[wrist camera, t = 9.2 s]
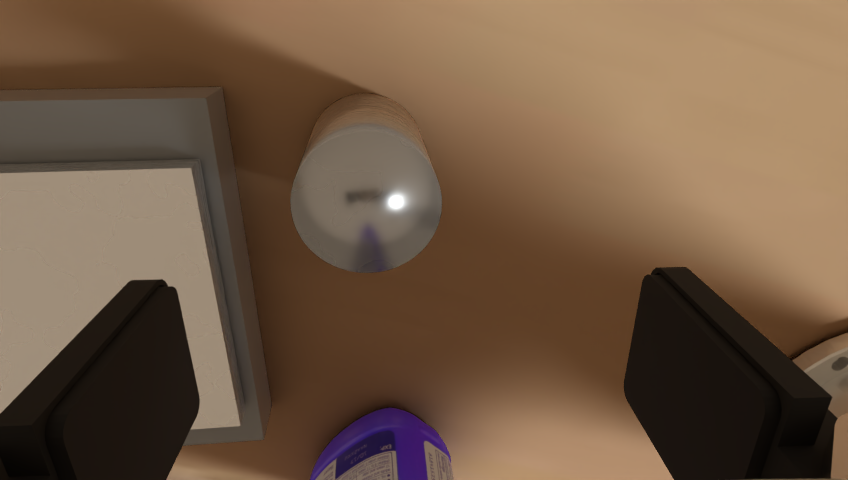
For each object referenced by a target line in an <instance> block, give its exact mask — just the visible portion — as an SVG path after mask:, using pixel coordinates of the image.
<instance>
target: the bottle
mask: <svg viewBox="0 0 848 480" xmlns="http://www.w3.org/2000/svg"><path fill="white" fill-rule="evenodd" d="M310 480H454V479H453V474H452V467H451V459H450V455H449V452H448V450H447V447H446V445H445V443H444V442H443V440H442V439H441V437H440V436H439V434H438V433H437V432H436V431H435V430H434V429H433V428H432V427H430V426H429V425H427V424H426V423H424V422H423V421H421V420H420V419H419V418H417V417H416V416H414V415H413V414H411V413H409V412H406V411H404V410H400V409H396V408H384V409H380V410H377V411H374V412H372V413H369V414H367V415H365V416H363V417H361V418H360V419H358V420H356V421H355V422H353V423H352V424H351V425H349V426H348V427H346V428H345V429H344V430H343V431H341V432H340V433H339V434H338V435H337V436H336V437H335V438H334V439H333V440H332V441H331V442H330V443H329V444H328V445H327V447H326V448H325V449H324V451H323V452H322V453H321V455H320V456H319V458H318V460H317V462H316V464H315V466H314V469H313V471H312V474H311V478H310Z"/></svg>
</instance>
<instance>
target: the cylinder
mask: <svg viewBox="0 0 848 480" xmlns="http://www.w3.org/2000/svg"><path fill="white" fill-rule="evenodd" d="M290 202H291V213H292V219H293V222H294V225H295V227H296V229H297V232H298V234H299V236H300V237H301V239H302V240H303V242H304V243H305V244H306V245H307V246H308V248H309V249H310V250H311V251H312V252H313V253H315V254H316V255H317V256H318V257H319V258H321V259H322V260H324V261H325V262H327V263H329V264H331V265H333V266H335V267H338V268H341V269H344V270H348V271H352V272H360V273H373V272H381V271H386V270H390V269H393V268H395V267H398V266H400V265H402V264H404V263H406V262H408V261H409V260H411V259H412V258H414V257H415V256H416V255H417V254H419V253H420V252H421V251H422V250H423V249H424V248H425V247H426V246H427V244H428V243H429V241H430V240H431V239H432V237H433V235H434V233H435V231H436V229H437V227H438V224H439V221H440V217H441V211H442V195H441V189H440V185H439V182H438V179H437V176H436V174H435V171H434V168H433V166H432V163H431V161H430V158H429V155H428V153H427V150H426V147H425V145H424V142H423V140H422V137H421V134H420V132H419V129H418V127H417V125H416V123H415V121H414V120H413V118H412V117H411V115H410V114H409V113H408V112H407V111H406V110H405V109H404V108H403V107H402V106H401V105H399V104H398V103H396V102H395V101H393V100H391V99H389V98H387V97H384V96H381V95H376V94H368V93H362V94H354V95H349V96H346V97H344V98H341V99H339V100H337V101H336V102H334V103H333V104H331V105H330V106H329V107H328V108H327V109H326V110H324V111H323V113H322V114H321V115H320V117H319V118H318V120H317V121H316V123H315V125H314V128H313V130H312V133H311V136H310V138H309V141H308V144H307V147H306V149H305V152H304V155H303V158H302V160H301V163H300V166H299V168H298V171H297V174H296V177H295V179H294V182H293V186H292V190H291V199H290Z"/></svg>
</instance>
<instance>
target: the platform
mask: <svg viewBox="0 0 848 480" xmlns="http://www.w3.org/2000/svg"><path fill="white" fill-rule="evenodd" d="M157 279H163V280H164V281H166V283H167V285H168V286H173V287H175V288H176V290H177V293H178V297H179V302H180V306H181V311H182V316H183V321H184V325H185V330H186V335H187V340H188V344H189V349H190V354H191V359H192V363H193V368H194V373H195V378H196V382H197V387H198V392H199V398H200V405H199V411H198V414H197V417H196V419H195V421H194V423H193V425H192V427H191V429H205V428H220V427H234V426H241V423H242V419H243V416H244V412H245V404H244V398H243V393H242V387H241V382H240V376H239V371H238V365H237V360H236V354H235V349H234V344H233V338H232V333H231V327H230V322H229V316H228V311H227V305H226V300H225V294H224V289H223V283H222V278H221V273H220V267H219V262H218V256H217V251H216V245H215V240H214V234H213V229H212V223H211V218H210V213H209V207H208V202H207V196H206V191H205V185H204V180H203V174H202V169H201V163H200V159H185V160H147V161H109V162H71V163H32V164H0V413H1V412H2V411H3V410H4V409H5V408H6V407H7V406H8V405H9V404H10V403H11V402H12V401H13V400H14V399H15V398H16V397H17V396H18V395H19V394H20V393H21V392H22V391H23V390H24V389H25V388H26V387H27V386H28V385H29V384H30V383H31V382H32V381H33V379H34V378H35V377H36V376H37V375H38V374H39V373H40V372H41V371H42V370H43V369H44V368H45V367H46V366H47V365H48V364H49V363H50V362H51V361H52V360H53V359H54V358H55V357H56V356H57V355H58V354H59V353H60V352H61V351H62V350H63V349H64V348H65V347H66V346H67V345H68V344H69V343H70V341H71V340H72V339H73V338H74V337H75V336H76V335H77V334H78V333H79V332H80V331H81V330H82V329H83V328H84V327H85V326H86V325H87V324H88V323H89V322H90V321H91V320H92V319H93V318H94V317H95V316H96V315H97V314H98V313H99V312H100V311H101V310H102V309H103V308H104V307H105V306H106V305H107V303H108V302H109V301H110V300H111V299H112V298H113V297H114V296H115V295H116V294H117V293H118V292H119V291H120V290H121V289H122V288H123V287H124V286H125V285H126V284H127V283H128V282H129V281H131V280H157ZM191 429H190V430H191Z"/></svg>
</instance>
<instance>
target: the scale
mask: <svg viewBox="0 0 848 480" xmlns="http://www.w3.org/2000/svg"><path fill="white" fill-rule="evenodd" d="M185 159H200V163H201V169H202V174H203V180H204V185H205V191H206V196H207V202H208V207H209V213H210V218H211V223H212V229H213V234H214V240H215V245H216V251H217V256H218V262H219V267H220V273H221V278H222V283H223V289H224V294H225V300H226V305H227V311H228V316H229V322H230V327H231V333H232V338H233V344H234V349H235V354H236V360H237V365H238V371H239V376H240V382H241V387H242V393H243V398H244V404H245V412H244V416H243V419H242V423H241V426H234V427H220V428H205V429H191V430H190V431H189V433H188V435H187V438H186V440H185V442H184V444H183V446H186V445H200V444H214V443H227V442H241V441H255V440H264V438H265V433H266V429H267V424H268V420H269V415H270V411H271V406H272V403H271V397H270V391H269V384H268V378H267V371H266V365H265V358H264V352H263V345H262V339H261V333H260V326H259V320H258V313H257V307H256V300H255V294H254V288H253V281H252V275H251V268H250V262H249V255H248V249H247V242H246V236H245V230H244V223H243V217H242V210H241V204H240V197H239V191H238V185H237V178H236V172H235V165H234V159H233V152H232V146H231V139H230V133H229V127H228V120H227V114H226V107H225V101H224V94H223V88H222V87H176V88H107V89H37V90H0V164H32V163H71V162H109V161H147V160H185Z"/></svg>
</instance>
